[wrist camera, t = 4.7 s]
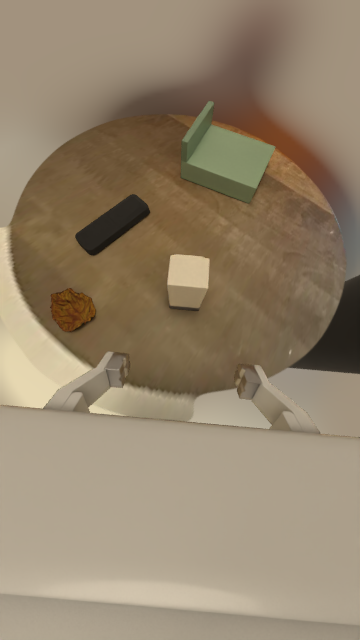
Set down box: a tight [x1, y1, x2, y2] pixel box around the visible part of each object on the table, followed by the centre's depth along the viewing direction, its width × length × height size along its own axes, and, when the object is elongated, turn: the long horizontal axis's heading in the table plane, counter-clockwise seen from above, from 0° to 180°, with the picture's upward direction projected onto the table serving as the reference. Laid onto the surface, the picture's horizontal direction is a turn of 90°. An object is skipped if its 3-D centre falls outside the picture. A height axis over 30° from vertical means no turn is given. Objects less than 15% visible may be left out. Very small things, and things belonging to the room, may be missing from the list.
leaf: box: [50, 288, 95, 332], centre depth 26 cm, size 6×7×2 cm
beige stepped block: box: [167, 254, 209, 311], centre depth 23 cm, size 8×5×9 cm, turn 175°
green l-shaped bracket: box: [181, 101, 275, 203], centre depth 32 cm, size 16×13×6 cm
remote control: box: [75, 194, 150, 255], centre depth 30 cm, size 5×2×15 cm
